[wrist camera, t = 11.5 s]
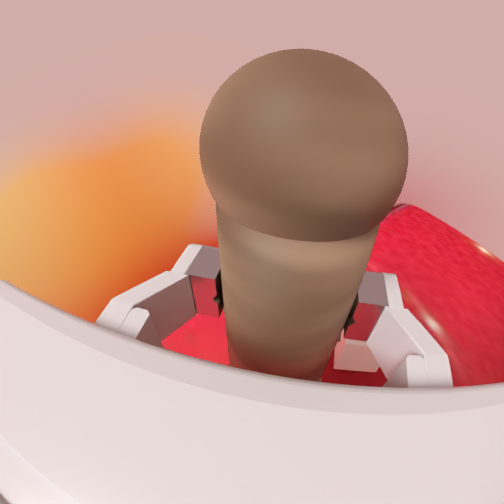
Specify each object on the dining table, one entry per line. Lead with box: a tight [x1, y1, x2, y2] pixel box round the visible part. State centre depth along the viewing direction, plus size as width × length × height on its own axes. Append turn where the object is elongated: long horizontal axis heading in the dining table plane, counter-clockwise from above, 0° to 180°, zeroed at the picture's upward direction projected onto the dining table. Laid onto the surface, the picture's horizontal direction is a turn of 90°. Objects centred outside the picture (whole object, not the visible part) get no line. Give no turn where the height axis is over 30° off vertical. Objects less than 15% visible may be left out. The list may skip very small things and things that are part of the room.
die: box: [333, 328, 380, 372], centre depth 25 cm, size 5×5×5 cm
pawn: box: [200, 49, 408, 382], centre depth 9 cm, size 5×5×15 cm
